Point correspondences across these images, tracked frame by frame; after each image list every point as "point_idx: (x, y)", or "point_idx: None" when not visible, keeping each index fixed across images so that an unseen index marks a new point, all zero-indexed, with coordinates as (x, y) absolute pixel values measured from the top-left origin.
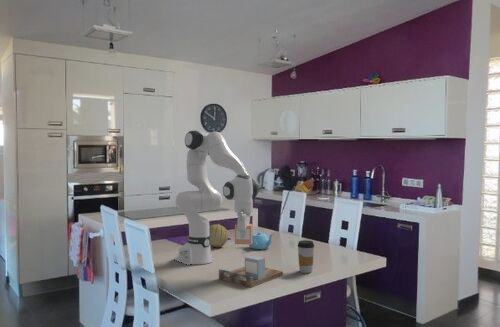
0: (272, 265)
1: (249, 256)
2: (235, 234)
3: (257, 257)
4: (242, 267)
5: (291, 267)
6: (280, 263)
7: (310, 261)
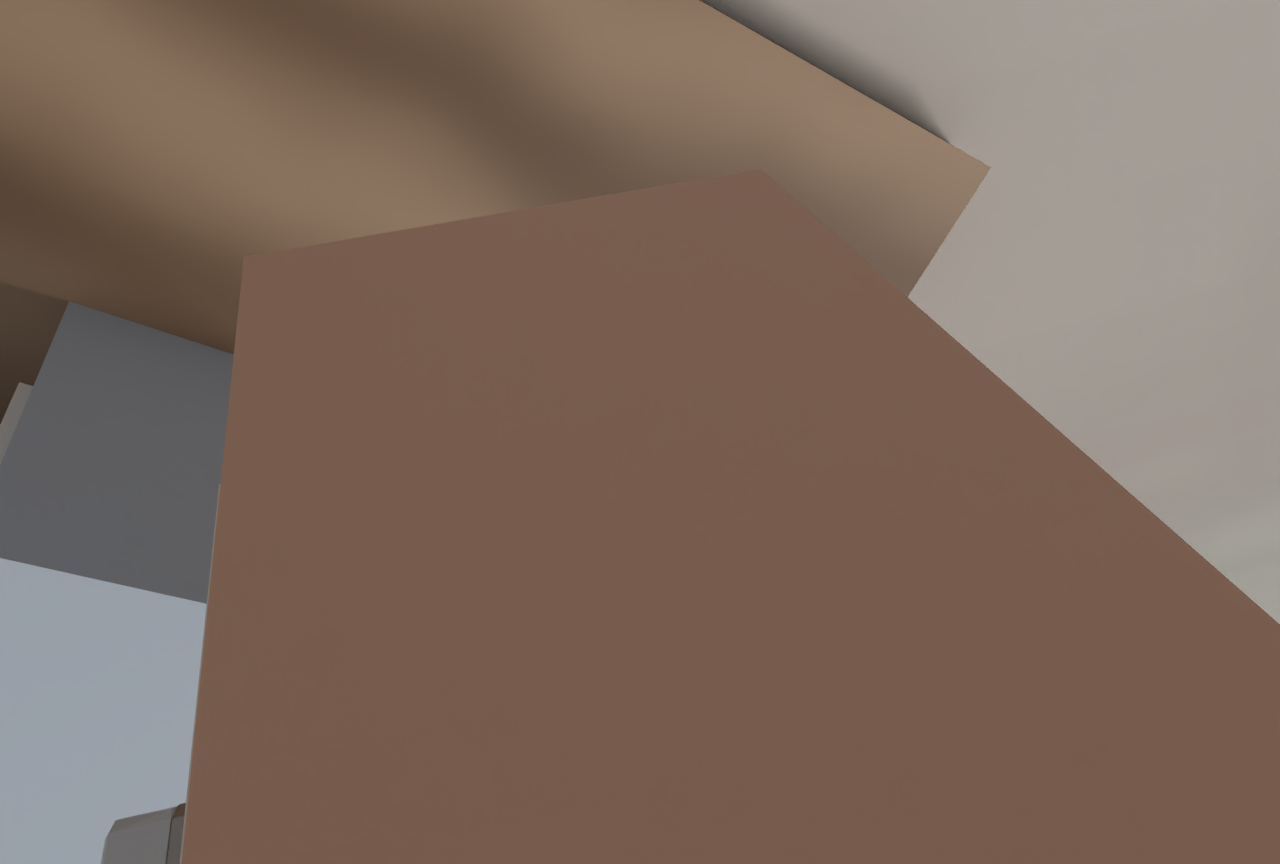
0: (1123, 427)
1: (145, 621)
2: (231, 610)
3: (127, 807)
4: (764, 49)
5: None
6: (1218, 498)
7: None
